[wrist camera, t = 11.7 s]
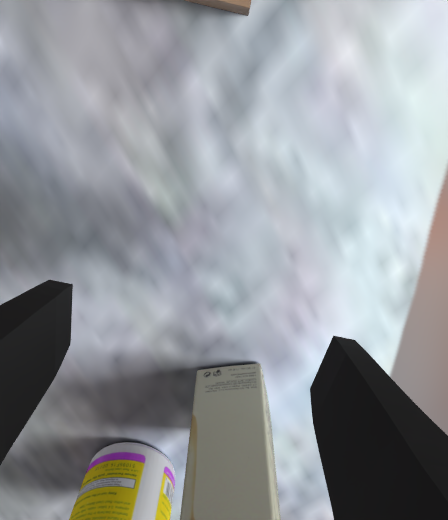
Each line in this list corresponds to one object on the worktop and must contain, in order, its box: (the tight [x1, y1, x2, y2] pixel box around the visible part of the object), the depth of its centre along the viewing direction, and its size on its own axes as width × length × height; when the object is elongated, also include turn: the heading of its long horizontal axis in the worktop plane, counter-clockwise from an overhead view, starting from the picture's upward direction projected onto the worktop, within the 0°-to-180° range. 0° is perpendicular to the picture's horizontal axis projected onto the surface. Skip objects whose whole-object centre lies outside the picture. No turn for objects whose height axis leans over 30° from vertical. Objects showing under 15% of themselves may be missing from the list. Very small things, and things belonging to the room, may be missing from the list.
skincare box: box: [180, 364, 281, 520], centre depth 20 cm, size 6×4×12 cm
